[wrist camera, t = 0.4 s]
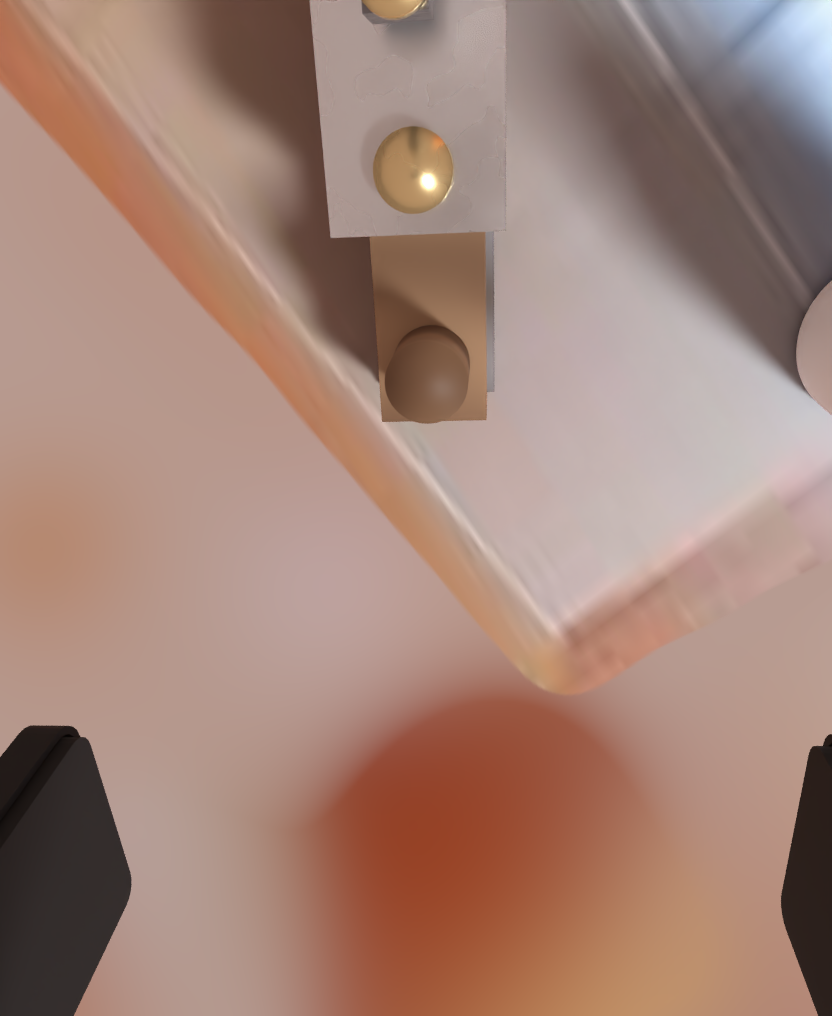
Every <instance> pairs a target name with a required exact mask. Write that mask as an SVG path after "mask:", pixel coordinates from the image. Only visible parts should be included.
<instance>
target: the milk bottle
mask: <svg viewBox="0 0 832 1016" xmlns="http://www.w3.org/2000/svg"><path fill="white" fill-rule="evenodd" d="M796 360H797V367H798V372H799V375H800V378H801V380H802V383H803V385H804V387H805V388H806V390H807V392H808V393H809V394H810V395H811V397H812V398H813V399H814V400H815V401H816V402H817V403H818V404H819V405H820V406H821V407H823V408H824V409H825V410H826V411H827V412H828V413H830V414H831V415H832V281H831V282H829V283H828V284H827V285H826V286H825V287H824V288H823V289H822V291H821V292H820V293H819V295H818V296H817V297H816V298H815V300H814V301H813V303H812V304H811V305H810V307H809V309H808V311H807V313H806V315H805V317H804V319H803V321H802V325H801V328H800V330H799V335H798V339H797V346H796Z"/></svg>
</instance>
